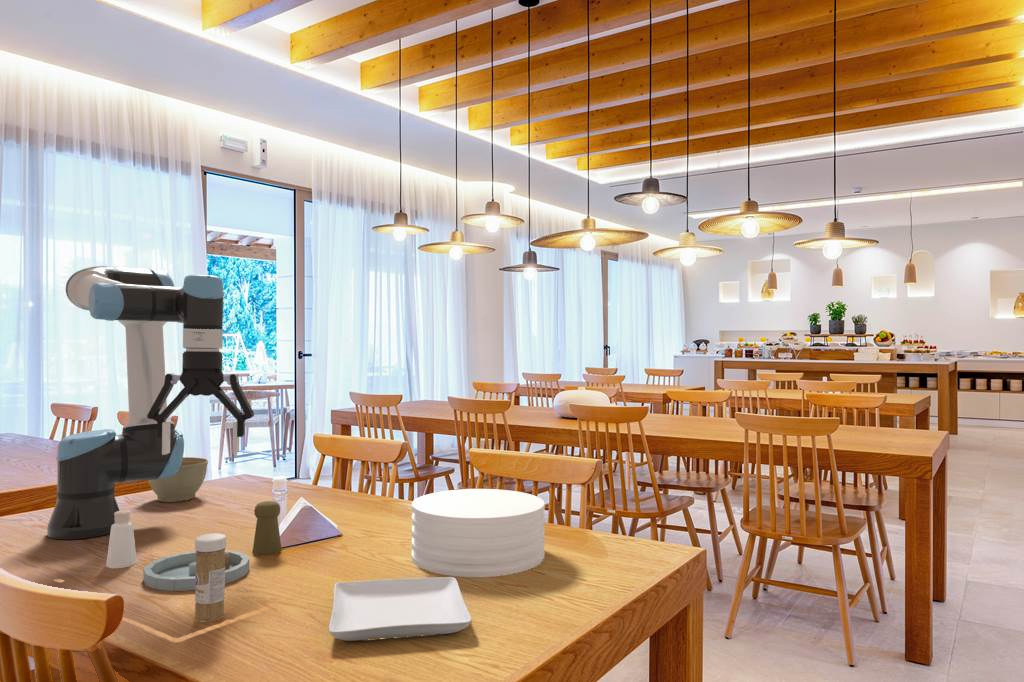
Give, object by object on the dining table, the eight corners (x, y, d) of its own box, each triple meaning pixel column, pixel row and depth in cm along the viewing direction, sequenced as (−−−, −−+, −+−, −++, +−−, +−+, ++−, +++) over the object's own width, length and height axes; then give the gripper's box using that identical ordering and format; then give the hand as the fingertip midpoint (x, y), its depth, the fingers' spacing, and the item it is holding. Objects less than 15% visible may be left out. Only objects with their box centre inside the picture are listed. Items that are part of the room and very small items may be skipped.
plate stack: (563, 547, 155) (564, 495, 155) (510, 586, 130) (510, 524, 130) (453, 532, 167) (453, 484, 167) (384, 565, 141) (384, 508, 142)
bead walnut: (202, 577, 131) (202, 555, 131) (221, 571, 135) (221, 550, 135) (214, 581, 129) (214, 559, 129) (233, 575, 132) (234, 554, 132)
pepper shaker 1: (143, 564, 140) (144, 509, 141) (120, 572, 135) (121, 515, 135) (122, 561, 142) (123, 507, 142) (99, 569, 137) (99, 513, 137)
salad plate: (473, 641, 105) (473, 619, 105) (327, 653, 101) (328, 630, 101) (455, 593, 126) (455, 574, 126) (333, 601, 122) (333, 581, 122)
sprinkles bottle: (188, 621, 112) (189, 536, 112) (216, 612, 115) (217, 530, 115) (202, 628, 109) (203, 541, 109) (230, 620, 112) (231, 535, 112)
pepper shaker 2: (272, 559, 145) (272, 505, 145) (245, 557, 146) (246, 504, 146) (287, 551, 150) (287, 499, 151) (261, 549, 152) (262, 498, 152)
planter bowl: (166, 508, 190) (166, 467, 190) (133, 500, 198) (134, 462, 198) (219, 497, 203) (219, 460, 203) (186, 491, 212) (187, 455, 212)
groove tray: (124, 581, 130) (124, 567, 130) (212, 557, 145) (213, 545, 145) (179, 601, 120) (179, 586, 120) (268, 573, 135) (268, 560, 135)
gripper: (131, 349, 139) (129, 456, 139) (262, 351, 143) (261, 455, 143) (144, 349, 146) (142, 451, 146) (268, 350, 150) (267, 449, 150)
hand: (201, 453), depth 145 cm, fingers open, 13 cm apart
